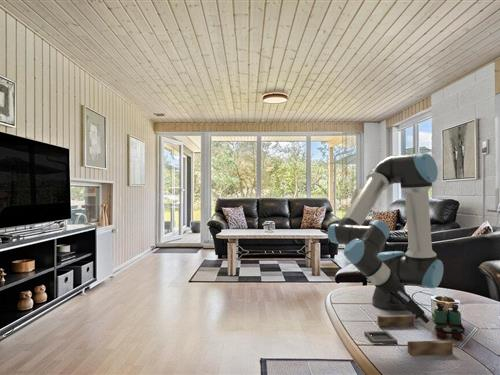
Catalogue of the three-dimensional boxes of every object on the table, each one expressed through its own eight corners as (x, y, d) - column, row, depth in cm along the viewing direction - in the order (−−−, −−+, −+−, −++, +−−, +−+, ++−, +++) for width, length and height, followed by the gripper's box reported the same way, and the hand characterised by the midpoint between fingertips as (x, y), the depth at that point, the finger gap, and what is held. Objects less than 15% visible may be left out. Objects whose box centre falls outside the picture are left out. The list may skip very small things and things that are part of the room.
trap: (373, 344, 116) (372, 341, 116) (364, 334, 124) (364, 331, 124) (397, 343, 116) (397, 340, 116) (387, 333, 124) (387, 331, 124)
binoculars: (436, 312, 117) (432, 300, 126) (437, 343, 118) (432, 329, 127) (468, 314, 114) (460, 302, 123) (468, 346, 115) (460, 332, 124)
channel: (410, 355, 107) (409, 343, 107) (377, 325, 132) (377, 315, 132) (452, 354, 108) (452, 342, 108) (412, 324, 133) (412, 314, 133)
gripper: (367, 281, 126) (415, 328, 126) (382, 291, 113) (435, 343, 113) (382, 266, 127) (429, 312, 127) (398, 274, 113) (451, 326, 114)
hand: (432, 327), depth 120 cm, fingers closed
